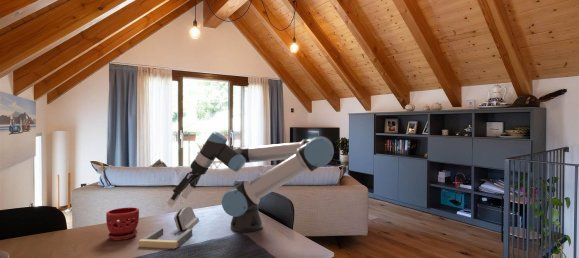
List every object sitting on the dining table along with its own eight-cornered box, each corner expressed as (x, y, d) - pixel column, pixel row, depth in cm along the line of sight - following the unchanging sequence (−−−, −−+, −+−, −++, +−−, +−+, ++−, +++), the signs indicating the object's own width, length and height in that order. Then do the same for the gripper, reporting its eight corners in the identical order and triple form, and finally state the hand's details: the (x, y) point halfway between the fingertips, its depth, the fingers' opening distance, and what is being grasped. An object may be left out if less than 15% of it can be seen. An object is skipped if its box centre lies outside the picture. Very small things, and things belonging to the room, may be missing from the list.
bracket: (192, 234, 146) (192, 229, 145) (175, 248, 130) (175, 242, 130) (159, 233, 147) (159, 227, 147) (138, 246, 132) (138, 240, 131)
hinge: (188, 231, 149) (180, 211, 149) (179, 235, 150) (171, 215, 149) (199, 220, 166) (193, 202, 166) (191, 223, 166) (184, 205, 166)
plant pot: (144, 236, 144) (143, 209, 144) (112, 244, 134) (112, 216, 134) (132, 229, 153) (132, 204, 153) (102, 236, 143) (101, 210, 143)
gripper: (205, 154, 156) (182, 189, 158) (182, 162, 131) (155, 203, 134) (217, 163, 156) (194, 198, 158) (197, 172, 131) (170, 214, 133)
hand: (176, 200), depth 146 cm, fingers open, 13 cm apart
